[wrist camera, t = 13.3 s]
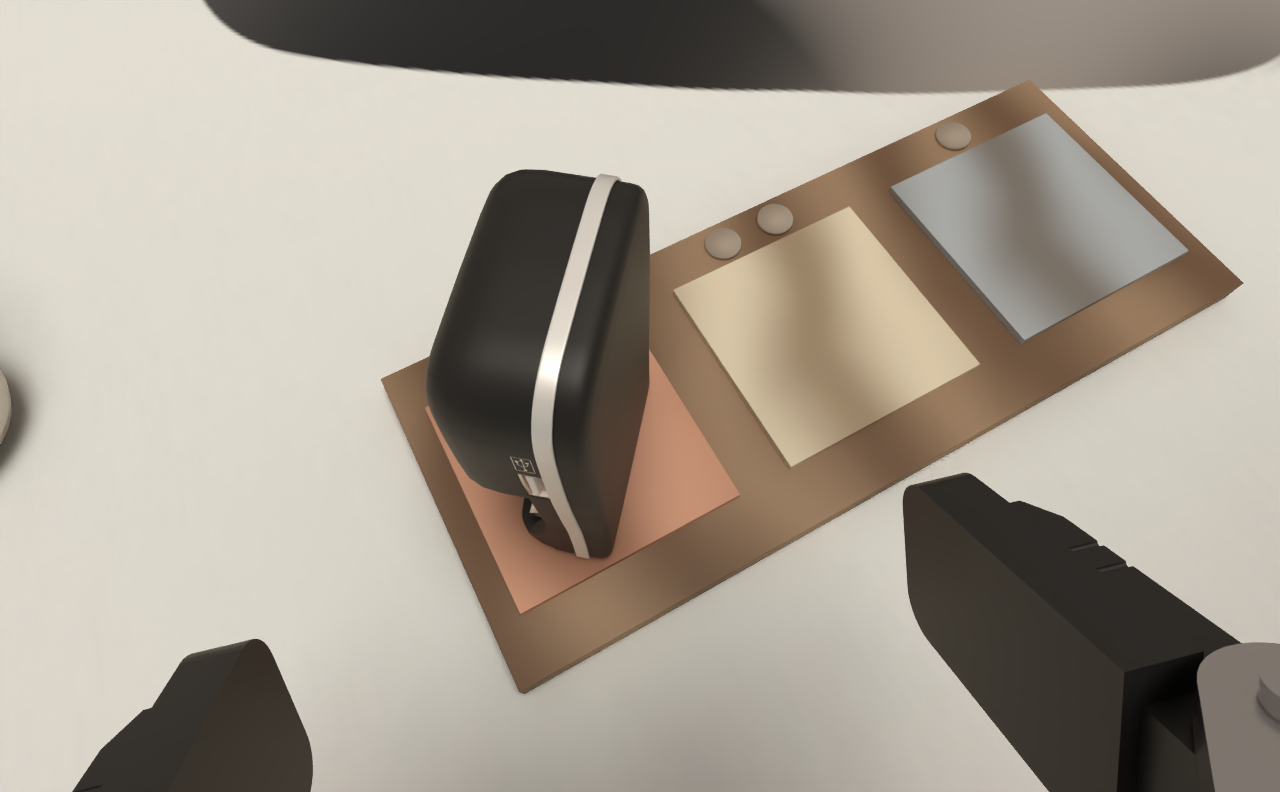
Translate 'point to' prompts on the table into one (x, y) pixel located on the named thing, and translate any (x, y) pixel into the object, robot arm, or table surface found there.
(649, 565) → the tile board
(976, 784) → the table surface
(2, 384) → the plastic bottle
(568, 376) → the battery charger
